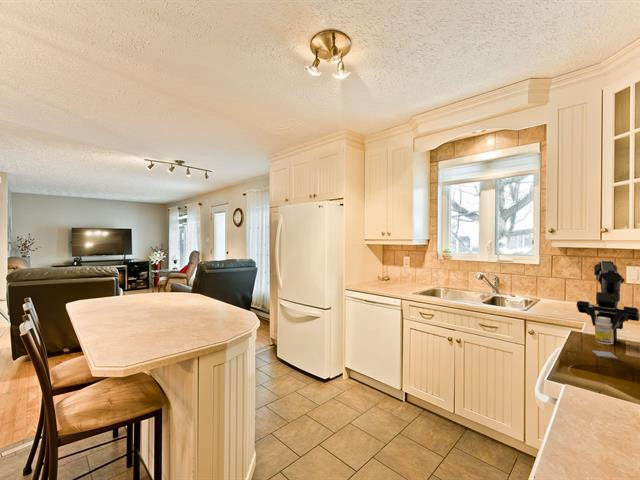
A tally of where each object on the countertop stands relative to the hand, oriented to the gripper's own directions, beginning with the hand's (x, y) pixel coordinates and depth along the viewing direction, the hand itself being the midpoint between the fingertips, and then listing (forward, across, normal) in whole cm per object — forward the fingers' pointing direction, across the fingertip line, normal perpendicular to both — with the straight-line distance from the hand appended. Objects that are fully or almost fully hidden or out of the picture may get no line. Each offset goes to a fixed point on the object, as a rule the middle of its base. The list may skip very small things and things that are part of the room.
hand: (603, 327), depth 122 cm
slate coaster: (+8, 0, +9) cm, 12 cm away
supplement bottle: (+4, 0, +6) cm, 7 cm away
